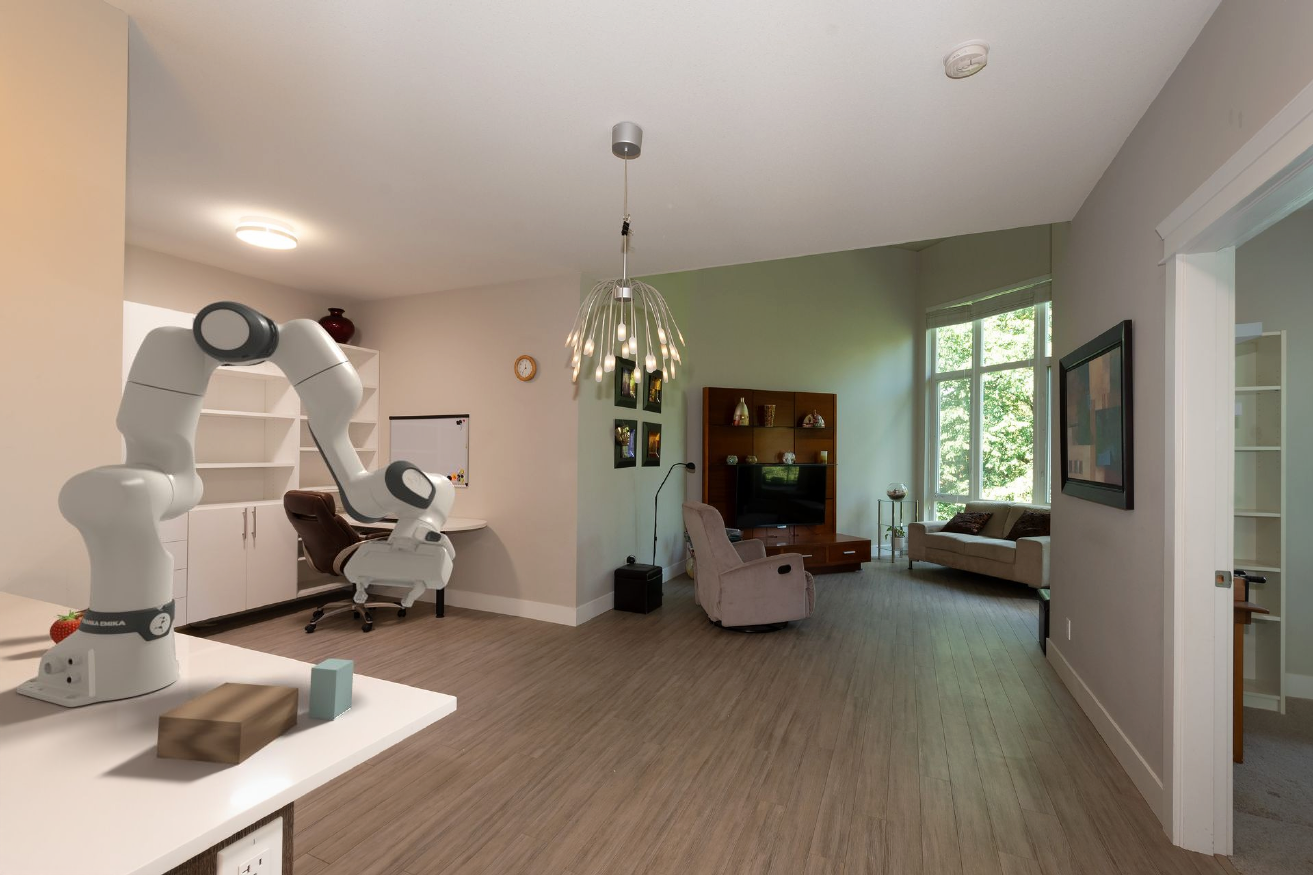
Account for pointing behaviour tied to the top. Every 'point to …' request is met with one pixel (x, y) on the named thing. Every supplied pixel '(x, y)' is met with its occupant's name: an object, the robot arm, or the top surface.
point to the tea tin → (331, 688)
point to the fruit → (64, 626)
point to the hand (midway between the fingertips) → (381, 603)
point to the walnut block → (227, 723)
